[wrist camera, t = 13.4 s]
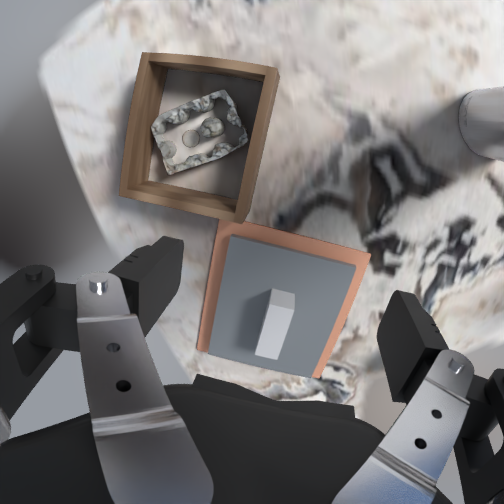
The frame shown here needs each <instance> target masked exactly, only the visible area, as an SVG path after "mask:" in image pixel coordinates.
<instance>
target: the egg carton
mask: <svg viewBox="0 0 504 504" xmlns="http://www.w3.org/2000/svg"><path fill="white" fill-rule="evenodd" d="M217 97H220V98H222V99H224V100H226V101H227V104H228V105H230V108H229V109H228V115H227V120H228V122H230V123H232V124H233V125H238V126H239V127H240V128H243V129H244V131H245V133H244V134H243V135H241V136H240V138H239V145H238V146H236V147H235V148H234V147H233V146H232V145H231V144H229V143H220V144H217V145H215V148H214V150H213V156H212V157H211V158H209V157H208V156H207V155H205V154H196V155H193V156H189V157H188V158H187V160H186V162H184V163H182V164H174V162H173V159H172V157H173V156H174V155H175V154H176V150H177V149H176V145H175V144H174V143H173V142H172V141H164V138H163V133H164V132H165V130H166V127H167V125H166V122H167V121H169V122H170V123H172V124H182V123H185V122H186V121H187V120H188V118H189V111H190V110H191V109H194V110H195V111H197V112H199V111H200V112H208V111H210V110H211V109H212V108H213V106H214V99H216V98H217ZM236 108H237V106H236V104H235V101H234V100H232V99H231V98H230V96H229V95H228V93H227V92H226V91H225V90H220V91H217V92H214V93H211V94H209V95H207V96H204V97H201V98H199V99H196V100H193V101H190V102H188V103H186V104H184V105H181V106H179V107H177V108H175V109H172V110H170V111H168V112H165V113H163V114H161V115H160V116H158V117H157V118H156V119H155V121H154V123H153V125H152V126H151V128H152V132H153V135H154V137H155V139H156V142H157V146H158V148H159V149H160V150H161V153H162V155H163V162H164V165H165V168H166V170H167V175H171V174H174V173H176V172H179V171H184V170H186V169H189V168H191V167H195V166H198V165H200V164H203V163H206V162H209V161H212V160H215V159H218V158H221V157H223V156H225V155H226V154H228V153H230V152H232V151H234V150H235V149H237V148H239V147H241V146H243V145H244V144H245V143H247V142H248V141H249V140H248V138H247V129H246V127H245V126H244V125H241V120H240V118H239V116H238V115H237V112H236V110H235V109H236ZM224 129H225V126H224V123H223V121H222V120H220V119H218V118H211V117H209V118H207V119H205V120H204V121H203V123H202V124H201V132H202V135H203V136H204V137H215V136H219V135H221V134H222V133H223V132H224ZM182 140H183V143H184V144H185V145H186V146H187V147H195V146H196V145H197V144H198V143H199V140H200V136H199V134H198V132H196V131H195V130H188V131H186V132H185V133H184V134H183V138H182Z"/></svg>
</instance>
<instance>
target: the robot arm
mask: <svg viewBox="0 0 504 504" xmlns="http://www.w3.org/2000/svg"><path fill="white" fill-rule="evenodd" d="M459 126H460V131H461V134H462V136H463V139H464V140H465V142H466V144H467V145H468V146H469V147H470V149H471V150H473V151H474V152H475V153H476V154H478V155H480V156H483V157H488V158H492V159H496V160H499V161H503V162H504V87H497V88H488V89H480V90H475V91H472V92H470V93H469V94H467V96H466V97H465V98H464V99H463V101H462V103H461V106H460V109H459ZM183 250H184V242H183V240H179V239H175V238H171V237H167V236H163V237H161V238H160V239H159V240H158V241H157V242H156V243H154V244H153V245H152V246H150V245H146V246H144V247H141V248H138V249H136V250H135V251H133V252H132V253H131V254H130V256H127V257H126V258H125V259H124V261H123V260H122V261H121V262H120V263H119V264H118V265H116V266H115V267H114V268H113V269H112V270H111V271H109V272H108V273H107V272H91V273H87V274H85V275H83V276H81V277H80V278H79V279H78V280H77V282H76V284H66V283H58V282H56V281H55V273H54V270H53V269H52V268H50V267H48V266H45V265H30V266H26V267H24V268H22V269H20V270H18V271H17V272H16V273H15V274H13V275H12V276H10V277H9V278H8V279H6V280H5V281H3V282H2V283H1V284H0V504H452V502H450V500H449V499H448V498H447V497H446V496H445V495H444V494H442V492H441V491H440V490H439V489H438V488H437V487H436V483H437V480H438V478H439V476H440V474H441V472H442V470H443V468H444V466H445V464H446V462H447V460H448V457H449V455H450V453H451V451H452V448H454V452H455V457H456V461H457V466H458V470H459V475H460V480H461V485H462V490H463V496H464V502H465V504H504V440H503V444H502V447H501V449H500V450H499V451H498V452H497V453H496V454H495V455H494V452H493V449H492V446H491V443H490V440H489V437H488V435H489V433H490V432H491V431H492V430H493V429H494V428H495V427H496V425H497V424H498V423H499V425H500V427H501V430H502V433H503V436H504V369H496V370H495V371H494V372H493V374H492V375H491V376H490V378H489V379H485V378H483V377H479V376H477V375H474V367H473V365H472V363H471V362H470V361H469V359H467V358H466V357H465V356H464V355H462V354H461V353H459V352H456V351H454V350H449V348H448V346H447V344H446V342H445V340H444V338H443V336H442V335H441V333H440V331H439V329H438V327H437V326H436V324H435V322H434V320H433V318H432V317H431V316H430V315H429V314H428V313H427V312H426V311H425V310H424V309H423V308H422V306H421V305H420V303H419V301H418V299H417V297H416V296H415V294H412V293H408V292H403V291H399V290H396V291H395V292H394V293H393V294H392V296H391V299H390V301H389V304H388V306H387V308H386V311H385V313H384V315H383V318H382V320H381V322H380V324H379V327H378V331H377V342H378V345H379V349H380V352H381V356H382V360H383V364H384V368H385V372H386V376H387V379H388V383H389V387H390V392H391V396H392V400H393V402H402V403H406V407H405V408H404V409H403V411H402V412H401V414H400V415H399V416H398V418H397V419H396V421H395V422H394V424H393V425H392V426H391V428H390V429H389V430H388V432H387V433H386V434H384V433H382V432H381V431H380V430H378V429H377V428H375V427H374V426H372V425H370V424H368V423H367V422H365V421H362V420H360V419H357V418H355V412H354V406H350V405H343V404H336V403H329V402H323V401H276V400H272V399H270V398H267V397H265V396H263V395H260V394H258V393H256V392H253V391H251V390H249V389H246V388H244V387H242V386H240V385H237V384H234V383H230V382H226V381H222V380H219V379H215V378H211V377H207V376H204V375H200V374H197V375H196V377H195V380H194V382H193V384H171V385H164V386H163V384H162V382H161V380H160V377H159V374H158V372H157V369H156V367H155V364H154V362H153V359H152V357H151V354H150V351H149V349H148V346H147V343H146V340H145V337H146V335H147V334H148V332H149V331H150V330H151V328H152V327H153V325H154V324H155V323H156V321H157V320H158V318H159V317H160V316H161V314H162V313H163V311H164V310H165V309H166V307H167V306H168V304H169V303H170V302H171V300H172V299H173V297H174V296H175V295H176V293H177V291H178V288H179V285H180V280H181V270H182V260H183ZM22 323H24V324H25V328H26V332H25V333H24V334H23V335H22V336H21V337H20V338H19V339H18V340H17V341H16V342H15V343H14V344H13V343H12V341H13V335H14V333H15V331H16V330H17V329H18V327H20V326H21V325H22ZM63 350H69V351H77V352H80V354H81V362H82V369H83V376H84V383H85V389H86V394H87V400H88V406H89V411H90V412H89V413H87V414H84V415H81V416H78V417H76V418H73V419H70V420H67V421H64V422H61V423H59V424H55V425H52V426H49V427H46V428H43V429H40V430H37V431H34V432H31V433H27V434H24V435H21V436H17V437H14V438H11V439H9V437H10V433H11V424H10V419H11V418H12V416H13V415H14V414H15V412H16V411H17V410H18V408H19V407H20V406H21V404H22V403H23V401H24V400H25V399H26V397H27V396H28V395H29V393H30V392H31V391H32V389H33V388H34V387H35V386H36V384H37V383H38V382H39V380H40V379H41V378H42V376H43V375H44V374H45V372H46V371H47V370H48V369H49V367H50V366H51V365H52V364H53V362H54V361H55V360H56V359H57V358H58V356H59V355H60V354H61V353H62V351H63ZM8 439H9V440H8Z"/></svg>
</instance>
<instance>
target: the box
mask: <svg viewBox="0 0 504 504" xmlns="http://www.w3.org/2000/svg"><path fill="white" fill-rule="evenodd" d="M168 69H176V70H186V71H195V72H204V73H211V74H219V75H226V76H232V77H238V78H244V79H250V80H255V81H261V82H264V83H263V88H262V92H261V96H260V101H259V105H258V109H257V114H256V118H255V123H254V127H253V132H252V136H251V141H250V145H249V150H248V154H247V159H246V164H245V168H244V173H243V178H242V182H241V187H240V192H239V197H238V200H236V199H231V198H227V197H223V196H218V195H214V194H209V193H205V192H200V191H196V190H191V189H187V188H182V187H177V186H173V185H168V184H163V183H158V182H153V181H148V178H149V170H150V163H151V156H152V150H153V143H154V135H153V132H152V128H151V126H152V125H153V123H154V121H155V119H156V118H157V117H158V115H159V109H160V104H161V99H162V94H163V89H164V84H165V80H166V75H167V71H168ZM279 79H280V76H279V72H278V69H277V68H274V67H269V66H264V65H259V64H253V63H247V62H241V61H234V60H227V59H220V58H212V57H203V56H193V55H182V54H167V53H147V52H142V55H141V59H140V64H139V68H138V73H137V77H136V82H135V87H134V92H133V97H132V103H131V108H130V114H129V120H128V126H127V133H126V139H125V147H124V154H123V162H122V170H121V179H120V189H119V196H122V197H126V198H131V199H135V200H140V201H144V202H149V203H153V204H157V205H162V206H166V207H171V208H175V209H179V210H184V211H188V212H192V213H196V214H201V215H205V216H209V217H213V218H218V219H222V220H226V221H230V222H234V223H238V224H243V222H244V220H245V218H246V217H247V215H248V213H249V211H250V207H251V203H252V198H253V194H254V189H255V185H256V180H257V176H258V171H259V167H260V162H261V158H262V153H263V149H264V145H265V140H266V136H267V131H268V127H269V123H270V118H271V114H272V109H273V105H274V101H275V96H276V92H277V88H278V84H279Z"/></svg>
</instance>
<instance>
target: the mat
mask: <svg viewBox="0 0 504 504" xmlns="http://www.w3.org/2000/svg"><path fill="white" fill-rule="evenodd" d="M231 234H236V235H240V236H244V237H248V238H252V239H256V240H260V241H264V242H268V243H272V244H276V245H280V246H284V247H288V248H292V249H296V250H300V251H304V252H308V253H312V254H315V255H319V256H323V257H327V258H331V259H335V260H339V261H343V262H347V263H351V264H354V265H356V271H355V273H354V276H353V279H352V282H351V284H350V287H349V289H348V292H347V295H346V297H345V300H344V302H343V305H342V307H341V310H340V312H339V315H338V317H337V320H336V322H335V324H334V327H333V329H332V332H331V334H330V336H329V339H328V341H327V343H326V346H325V348H324V350H323V353H322V355H321V357H320V359H319V362H318V364H317V366H316V368H315V370H314V373H313V375H312V377H315V378H320V376H321V374H322V372H323V370H324V367H325V365H326V363H327V361H328V359H329V357H330V355H331V352H332V350H333V348H334V346H335V343H336V341H337V339H338V337H339V334H340V332H341V330H342V327H343V325H344V323H345V320H346V318H347V316H348V313H349V311H350V308H351V306H352V304H353V301H354V299H355V296H356V294H357V291H358V288H359V286H360V283H361V281H362V278H363V275H364V273H365V270H366V267H367V265H368V262H369V259H370V257H371V254H370V253H366V252H363V251H359V250H355V249H351V248H348V247H344V246H340V245H336V244H332V243H329V242H325V241H321V240H317V239H313V238H309V237H305V236H301V235H298V234H294V233H290V232H286V231H282V230H278V229H274V228H270V227H266V226H262V225H257V224H253V223H249V222H245V221H244V222H243V224H238V223H234V222H230V221H226V220H222V219H219V223H218V229H217V234H216V239H215V245H214V250H213V256H212V261H211V267H210V273H209V279H208V284H207V290H206V296H205V302H204V308H203V314H202V321H201V327H200V333H199V340H198V346H197V350H200V351H204V352H208V350H209V344H210V339H211V333H212V328H213V323H214V317H215V312H216V307H217V302H218V297H219V291H220V286H221V281H222V276H223V271H224V266H225V261H226V256H227V251H228V246H229V241H230V236H231Z"/></svg>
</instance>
